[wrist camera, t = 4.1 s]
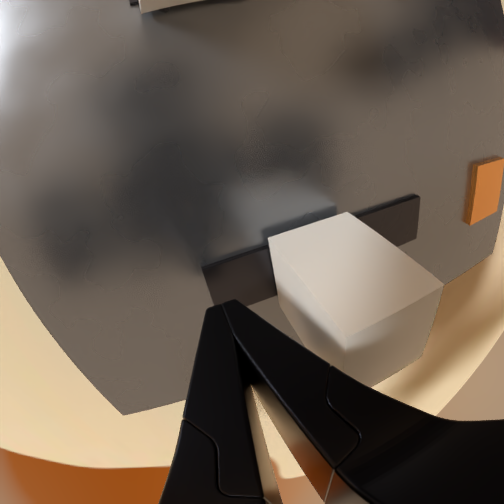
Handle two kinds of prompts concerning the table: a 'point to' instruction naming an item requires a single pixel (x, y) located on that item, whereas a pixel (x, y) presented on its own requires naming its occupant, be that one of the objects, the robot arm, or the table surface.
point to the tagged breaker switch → (354, 296)
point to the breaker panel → (231, 158)
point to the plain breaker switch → (160, 4)
